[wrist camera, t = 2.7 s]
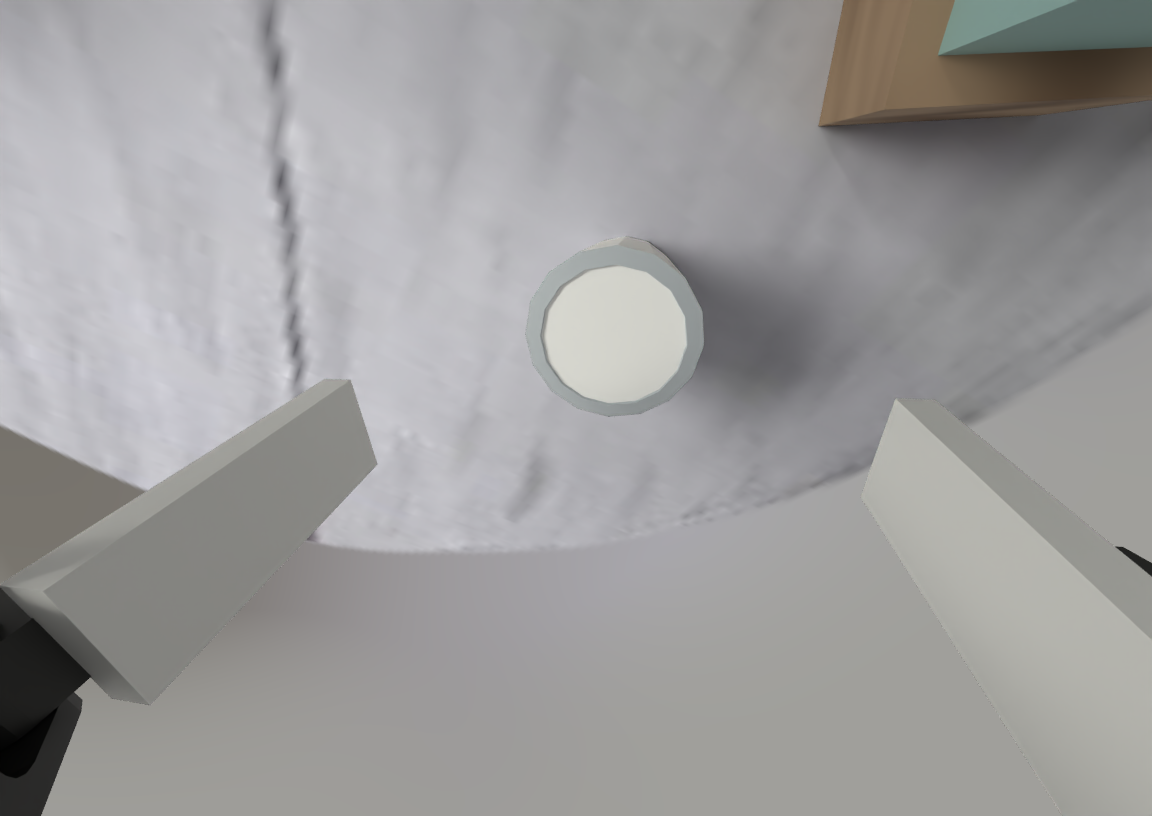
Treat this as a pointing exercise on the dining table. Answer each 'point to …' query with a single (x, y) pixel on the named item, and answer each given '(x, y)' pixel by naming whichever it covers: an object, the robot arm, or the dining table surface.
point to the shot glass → (615, 328)
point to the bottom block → (962, 72)
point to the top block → (1046, 26)
